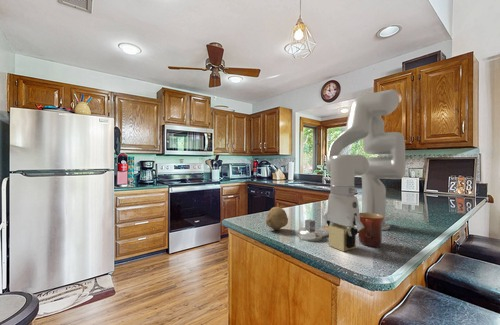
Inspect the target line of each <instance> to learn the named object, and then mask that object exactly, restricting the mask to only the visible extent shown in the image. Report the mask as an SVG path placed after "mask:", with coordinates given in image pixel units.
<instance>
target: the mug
mask: <svg viewBox="0 0 500 325" xmlns="http://www.w3.org/2000/svg"><path fill="white" fill-rule="evenodd" d="M359 213H360V222H361V223H362V224H363V226H364V229H362V230H361V231H360V232H359V233H357V237H358V242H359V243H360V244H362V245H364V246H366V247H372V248H376V247H380V246H381V245H382V241H383V230H382V222H383V220H384V216H382V215H379V214H374V213H362V212H359Z"/></svg>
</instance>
